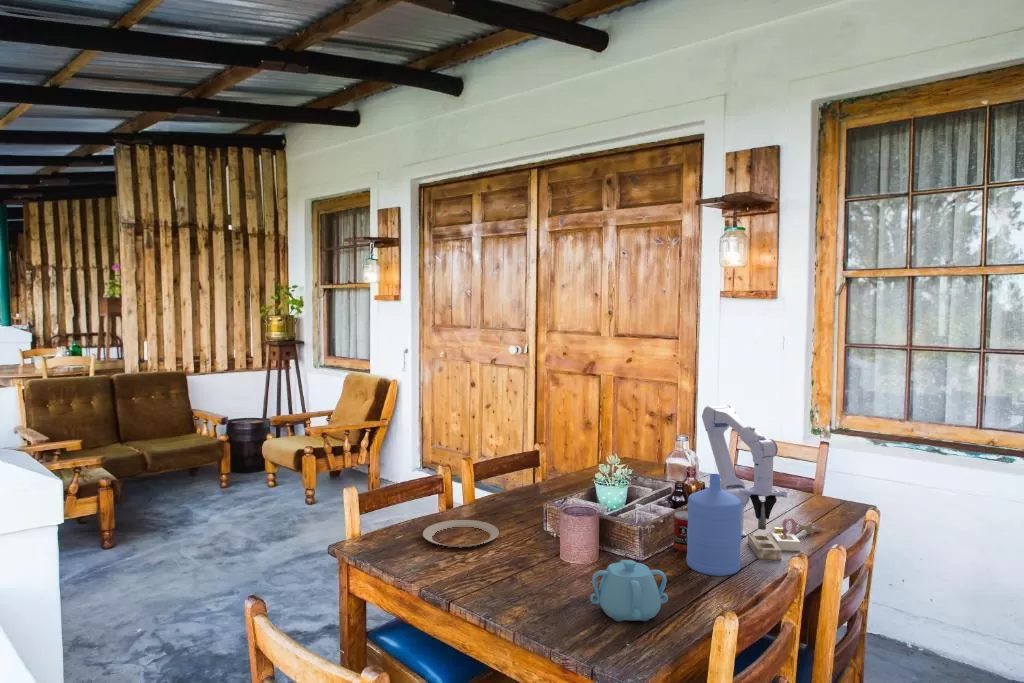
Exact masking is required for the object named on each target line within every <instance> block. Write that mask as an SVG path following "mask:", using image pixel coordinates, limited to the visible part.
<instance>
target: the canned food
mask: <svg viewBox="0 0 1024 683" xmlns="http://www.w3.org/2000/svg"><path fill="white" fill-rule="evenodd" d="M673 516H674V517H673V546H674V549H676V550H678V551H680V552H685V553H687V528H688V510H679V511H676V512H674V515H673Z"/></svg>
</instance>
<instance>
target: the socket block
mask: <svg viewBox="0 0 1024 683" xmlns="http://www.w3.org/2000/svg"><path fill="white" fill-rule="evenodd" d="M770 536H771V537H772V538H773V539H774V541H775V542H776V543H777V545H778V546H779V547H780V549H781V550H782V551H792V552H793V551H794V552H795V551H796V552H797V551H798V552H800V551H801V541H800V539H799V538H798V537H797V536H796V535H795V534H789V533H787V534H786V539H785V540H784V539H782V538H781V535H780V534H774V531H773V532H770Z"/></svg>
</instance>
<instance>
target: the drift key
mask: <svg viewBox="0 0 1024 683" xmlns="http://www.w3.org/2000/svg"><path fill="white" fill-rule="evenodd" d="M783 530H784V529H783V527H776V526H775V527H774V530H773V533H774V534H780V535H781V538H782V539H784V540H785V539H786V537H785V536H784V535H783Z"/></svg>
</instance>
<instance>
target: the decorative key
mask: <svg viewBox="0 0 1024 683" xmlns="http://www.w3.org/2000/svg"><path fill="white" fill-rule="evenodd" d="M789 521H790V523H791V530H789V529H787V524H788V523H789ZM781 528H783V529H784V530H783V535H784V536H785V537H786V534H794V535H795V534H797V533H798V531H803V530H805V531H806V533H807V534H811V533H812V530H814V532H816V533H818V531H819V530H821V529H822V527H821V526H819V524H818V523H815V525H814V526H813V522H811V521H809V522H807V523H806V524H803V525H802V524H800V523H799V522H797V521H795V520H794V519H793V518H792V517H785V518H784V519H783V522H782V527H781ZM797 530H798V531H797ZM789 531H790V532H789ZM788 532H789V533H788Z"/></svg>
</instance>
